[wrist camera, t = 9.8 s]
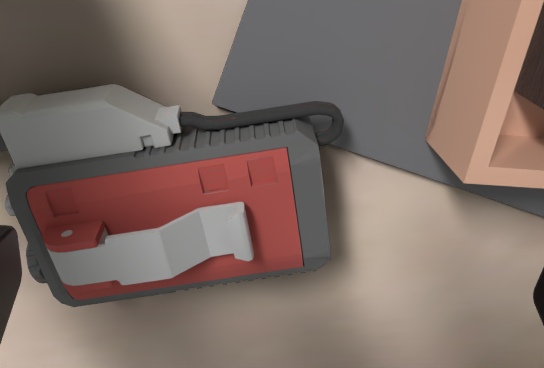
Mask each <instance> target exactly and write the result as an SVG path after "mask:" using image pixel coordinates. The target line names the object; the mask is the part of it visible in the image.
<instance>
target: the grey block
mask: <svg viewBox="0 0 544 368" xmlns="http://www.w3.org/2000/svg"><path fill="white" fill-rule="evenodd" d="M514 92H516V93H518V94H519V95H521V96H522V97H524V98H526V99H527V100H529V101H531V102H532V103H534V104H535V105H537V106H539V107H540V108H542V109H543V110H544V2H543V5H542V8H541V11H540V14H539V17H538V20H537V23H536V26H535V29H534V32H533V35H532V38H531V41H530V44H529V47H528V50H527V53H526V56H525V59H524V62H523V65H522V68H521V71H520V74H519V77H518V80H517V83H516V85H515V88H514Z"/></svg>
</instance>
